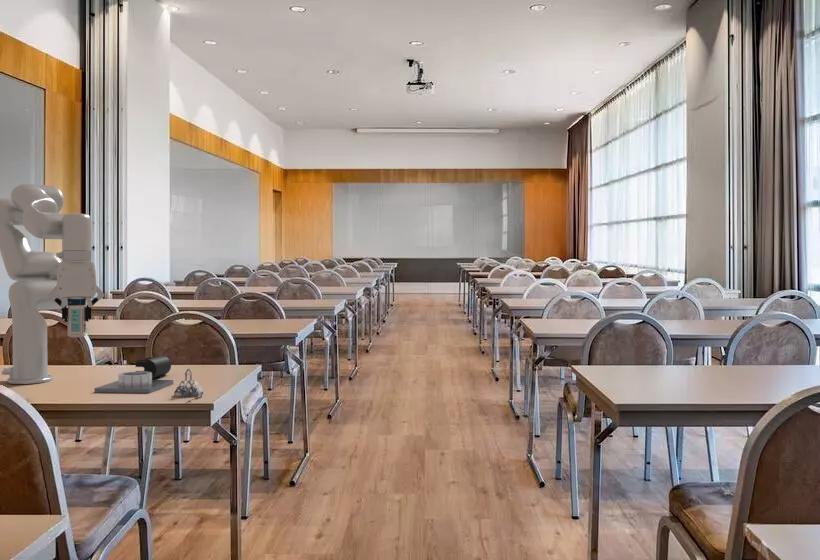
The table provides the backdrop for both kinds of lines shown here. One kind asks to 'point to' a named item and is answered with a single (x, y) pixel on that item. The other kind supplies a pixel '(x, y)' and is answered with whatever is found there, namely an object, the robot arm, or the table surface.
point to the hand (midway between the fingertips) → (76, 320)
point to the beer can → (76, 316)
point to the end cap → (155, 365)
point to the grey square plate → (134, 383)
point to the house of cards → (188, 388)
